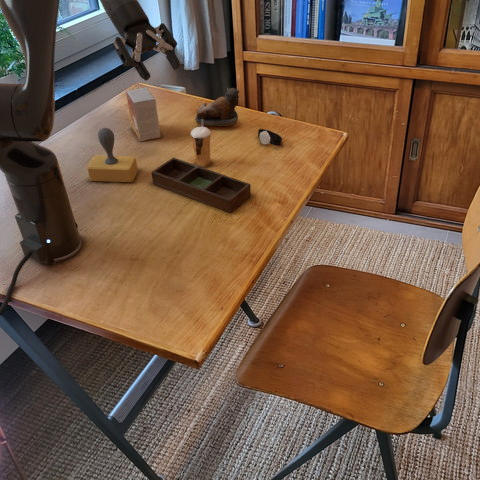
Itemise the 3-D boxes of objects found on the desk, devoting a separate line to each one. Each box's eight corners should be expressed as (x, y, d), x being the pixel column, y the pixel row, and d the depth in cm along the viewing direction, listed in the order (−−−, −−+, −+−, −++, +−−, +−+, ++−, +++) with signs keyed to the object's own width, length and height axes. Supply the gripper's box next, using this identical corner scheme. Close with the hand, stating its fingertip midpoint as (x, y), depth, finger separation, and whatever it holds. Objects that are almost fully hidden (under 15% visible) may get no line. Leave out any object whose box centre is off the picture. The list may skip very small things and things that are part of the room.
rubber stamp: (138, 170, 137) (129, 123, 129) (132, 183, 133) (122, 135, 125) (97, 168, 138) (85, 121, 130) (89, 181, 134) (77, 134, 126)
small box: (132, 128, 153) (125, 90, 146) (152, 124, 155) (146, 86, 148) (140, 142, 148) (132, 102, 141) (161, 137, 149) (155, 98, 143)
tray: (230, 213, 124) (229, 200, 122) (153, 184, 133) (151, 171, 131) (250, 196, 129) (250, 184, 127) (174, 169, 138) (173, 157, 136)
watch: (253, 139, 149) (252, 126, 146) (267, 133, 151) (267, 120, 149) (272, 150, 144) (272, 137, 142) (286, 144, 147) (287, 131, 144)
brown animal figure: (193, 129, 153) (190, 92, 146) (199, 117, 158) (195, 81, 151) (239, 131, 152) (237, 94, 145) (242, 119, 157) (241, 83, 151)
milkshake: (215, 157, 142) (212, 119, 135) (211, 168, 138) (207, 130, 131) (197, 156, 142) (192, 118, 136) (192, 167, 138) (187, 129, 132)
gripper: (102, 7, 125) (143, 74, 126) (154, -8, 132) (193, 55, 134) (93, 27, 131) (132, 90, 133) (143, 12, 139) (180, 72, 140)
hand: (163, 73), depth 133 cm, fingers open, 8 cm apart
